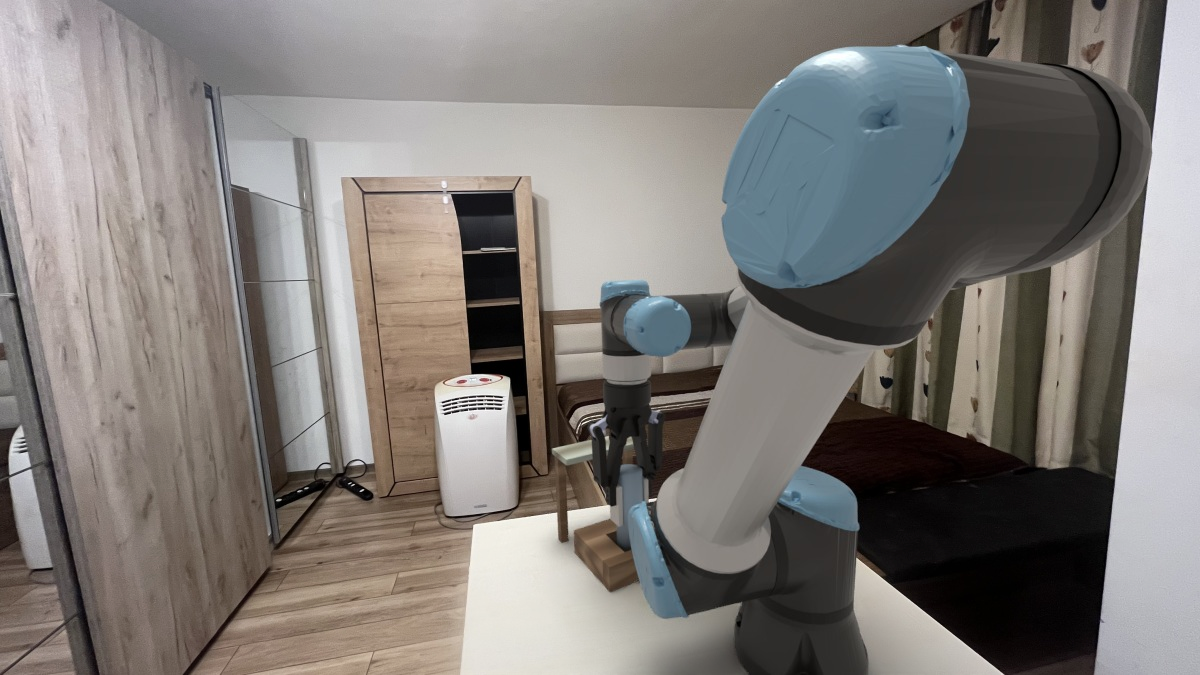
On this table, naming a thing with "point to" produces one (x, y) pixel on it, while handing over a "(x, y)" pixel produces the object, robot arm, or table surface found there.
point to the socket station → (599, 538)
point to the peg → (628, 500)
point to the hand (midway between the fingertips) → (629, 517)
